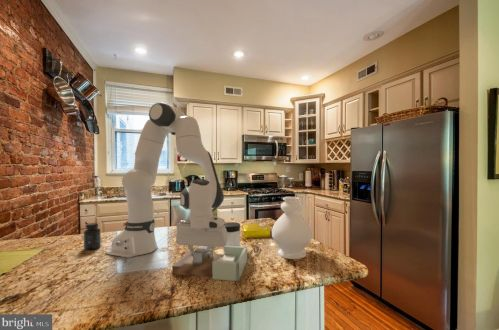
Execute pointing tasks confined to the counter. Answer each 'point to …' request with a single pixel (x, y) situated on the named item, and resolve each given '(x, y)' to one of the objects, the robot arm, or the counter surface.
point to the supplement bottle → (92, 237)
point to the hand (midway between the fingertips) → (201, 256)
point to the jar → (233, 234)
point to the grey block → (200, 255)
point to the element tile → (256, 230)
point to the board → (194, 266)
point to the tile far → (229, 258)
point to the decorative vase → (291, 230)
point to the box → (230, 264)
